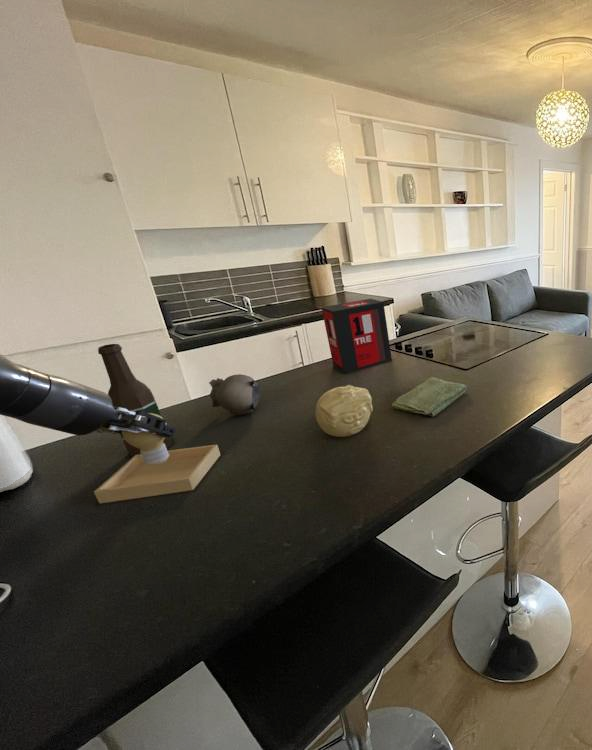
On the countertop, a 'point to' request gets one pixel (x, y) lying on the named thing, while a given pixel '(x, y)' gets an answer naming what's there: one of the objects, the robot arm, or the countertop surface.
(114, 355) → the beer bottle
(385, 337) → the cleaning product box
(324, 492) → the countertop surface
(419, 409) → the washcloth
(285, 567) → the countertop surface
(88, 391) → the robot arm
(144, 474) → the pale tray
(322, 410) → the sculpture
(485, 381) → the countertop surface
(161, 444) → the light bulb
